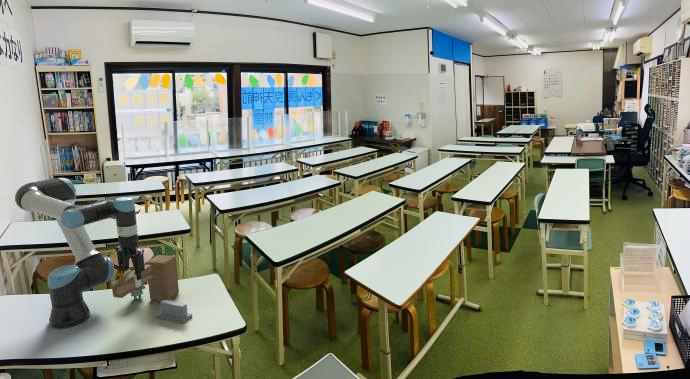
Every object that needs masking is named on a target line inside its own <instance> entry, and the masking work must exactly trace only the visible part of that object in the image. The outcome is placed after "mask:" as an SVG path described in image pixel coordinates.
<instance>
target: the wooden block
mask: <svg viewBox="0 0 690 379" xmlns="http://www.w3.org/2000/svg"><path fill="white" fill-rule="evenodd" d="M145 265H151V267H152V278H151V279H149V280H148V281H147V282H148V290H149V299H150V301H155V302H156V301H158V302H161V301H163V300H169V301H172V299H174V298H175V297H176V296H177V295H178V294H179V293H180V290H179V289H180V287H179V279H178V278H179V277H178V268H177V257H176V256H175V255H168V254H167V255H164V254H157V255H155V256H154V257H153V258H151V259H149V260H147V261H146V264H145Z"/></svg>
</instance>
